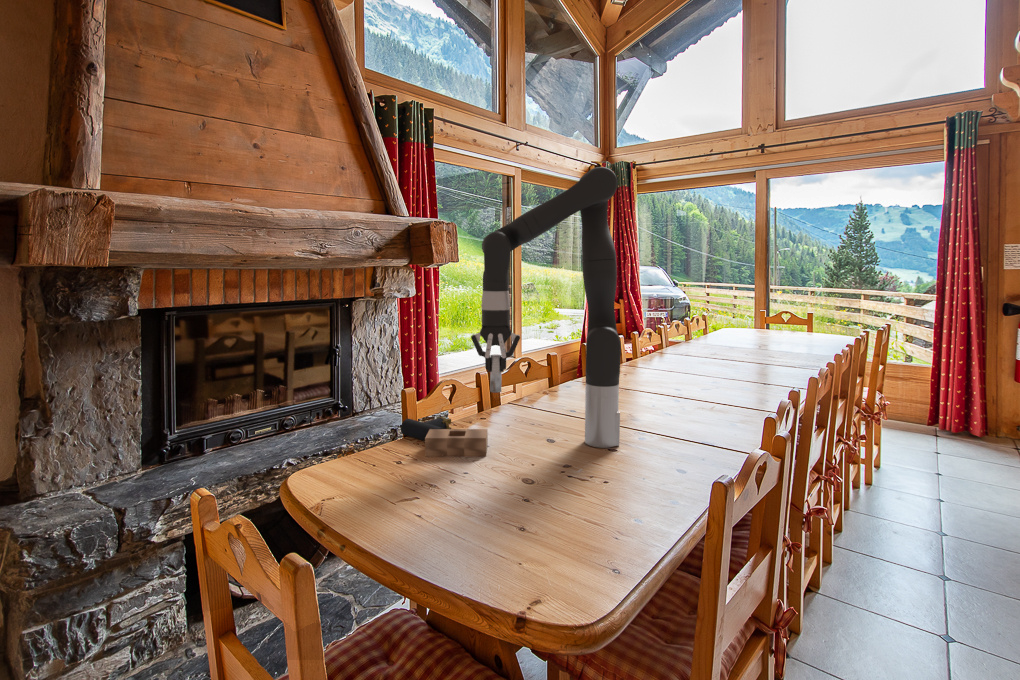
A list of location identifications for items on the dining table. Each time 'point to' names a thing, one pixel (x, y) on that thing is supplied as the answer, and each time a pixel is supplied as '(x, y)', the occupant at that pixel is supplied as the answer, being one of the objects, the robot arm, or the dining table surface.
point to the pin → (495, 373)
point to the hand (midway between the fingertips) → (495, 371)
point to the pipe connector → (423, 427)
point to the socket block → (456, 443)
